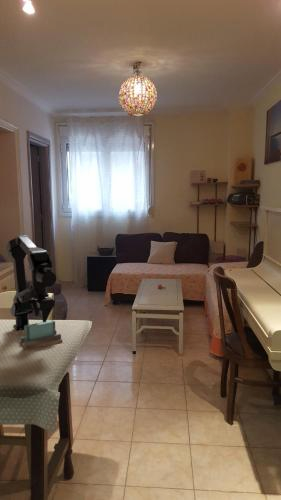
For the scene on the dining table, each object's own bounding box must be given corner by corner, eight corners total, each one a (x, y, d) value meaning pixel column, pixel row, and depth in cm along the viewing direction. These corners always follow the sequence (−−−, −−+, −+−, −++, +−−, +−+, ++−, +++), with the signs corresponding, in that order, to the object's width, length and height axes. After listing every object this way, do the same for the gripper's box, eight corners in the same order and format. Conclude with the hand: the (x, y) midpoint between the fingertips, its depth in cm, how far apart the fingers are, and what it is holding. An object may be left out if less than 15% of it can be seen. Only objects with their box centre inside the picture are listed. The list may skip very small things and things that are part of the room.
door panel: (53, 336, 155) (53, 320, 154) (55, 337, 153) (55, 321, 152) (25, 342, 148) (24, 325, 147) (26, 344, 146) (26, 327, 145)
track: (19, 342, 150) (19, 336, 150) (54, 335, 159) (54, 328, 158) (26, 350, 143) (25, 343, 142) (62, 342, 151) (62, 335, 151)
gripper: (12, 279, 150) (13, 316, 152) (26, 289, 135) (27, 329, 137) (38, 276, 156) (40, 311, 158) (55, 285, 141) (56, 324, 143)
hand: (40, 319), depth 149 cm, fingers open, 9 cm apart
